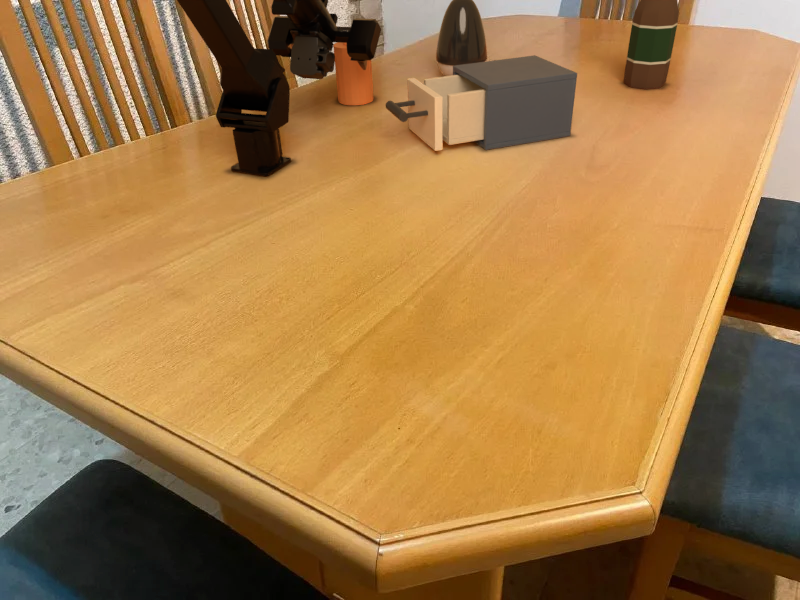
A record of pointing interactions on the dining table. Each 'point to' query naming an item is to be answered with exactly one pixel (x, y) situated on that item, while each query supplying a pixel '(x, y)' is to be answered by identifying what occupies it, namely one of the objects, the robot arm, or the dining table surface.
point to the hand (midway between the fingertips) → (341, 66)
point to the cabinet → (523, 99)
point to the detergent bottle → (352, 78)
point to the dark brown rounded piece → (460, 37)
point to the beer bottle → (651, 43)
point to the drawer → (443, 110)
